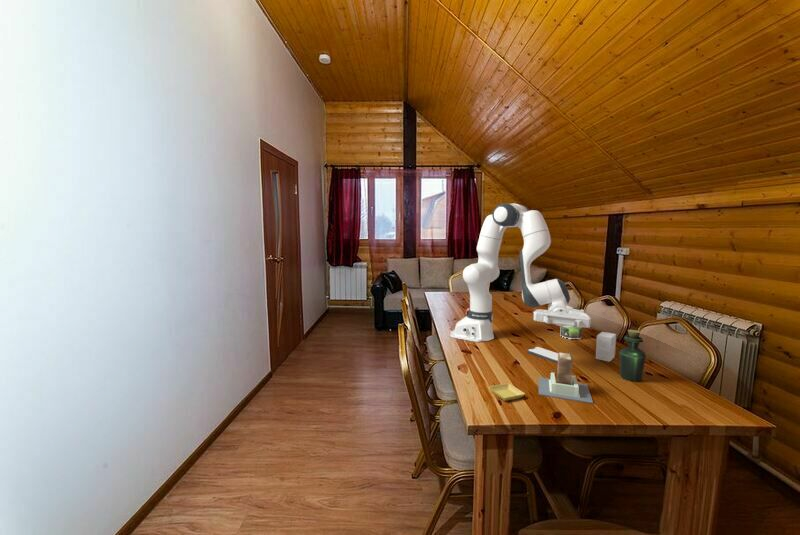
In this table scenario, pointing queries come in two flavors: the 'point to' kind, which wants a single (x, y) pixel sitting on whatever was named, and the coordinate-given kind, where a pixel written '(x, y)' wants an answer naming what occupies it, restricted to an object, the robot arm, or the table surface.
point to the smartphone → (544, 354)
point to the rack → (564, 387)
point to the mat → (545, 391)
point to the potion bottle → (632, 357)
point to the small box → (605, 346)
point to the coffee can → (571, 332)
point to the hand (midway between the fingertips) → (562, 323)
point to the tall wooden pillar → (564, 368)
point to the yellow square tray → (506, 391)
